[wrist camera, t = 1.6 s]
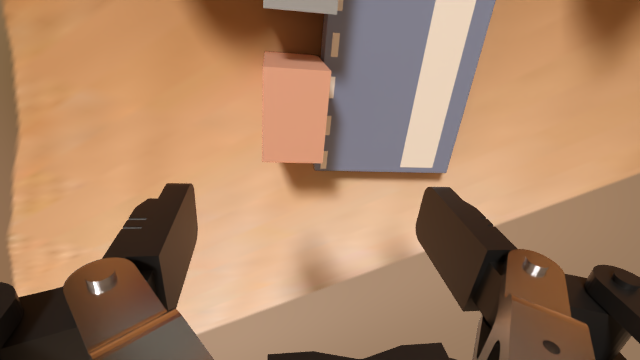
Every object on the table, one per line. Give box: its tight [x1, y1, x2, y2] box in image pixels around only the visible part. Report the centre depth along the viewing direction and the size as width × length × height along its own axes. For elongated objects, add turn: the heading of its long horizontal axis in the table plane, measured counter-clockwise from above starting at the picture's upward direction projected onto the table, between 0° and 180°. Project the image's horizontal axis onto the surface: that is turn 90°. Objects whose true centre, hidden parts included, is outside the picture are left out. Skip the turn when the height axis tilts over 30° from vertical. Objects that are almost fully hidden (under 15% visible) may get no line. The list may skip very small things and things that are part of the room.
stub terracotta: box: [262, 51, 331, 163], centre depth 24 cm, size 4×6×7 cm, turn 175°
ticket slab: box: [313, 0, 496, 173], centre depth 26 cm, size 12×20×2 cm, turn 175°
